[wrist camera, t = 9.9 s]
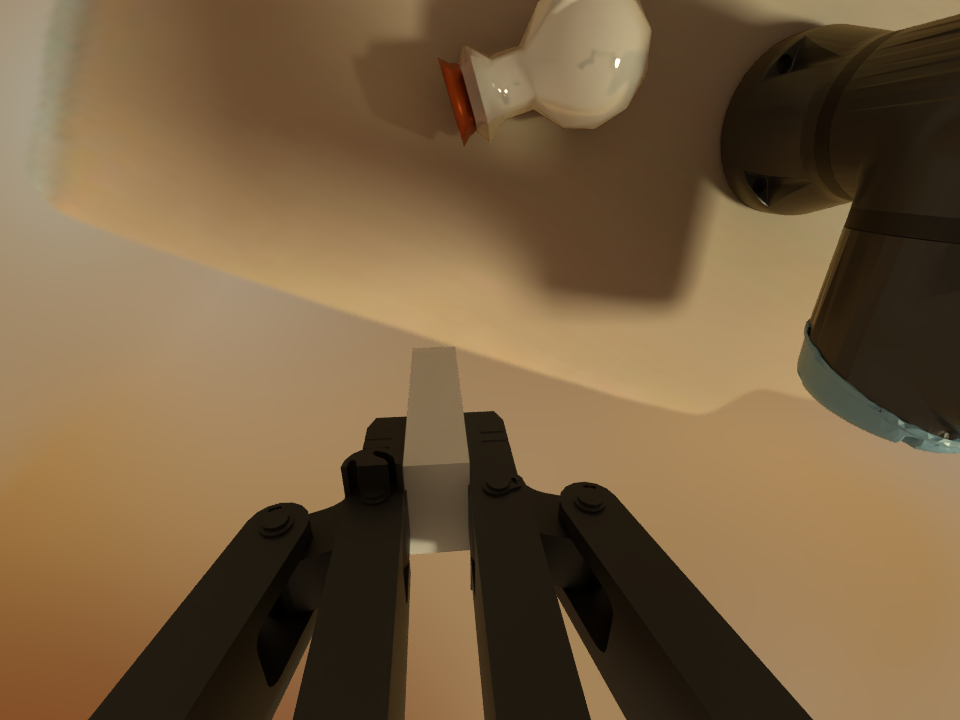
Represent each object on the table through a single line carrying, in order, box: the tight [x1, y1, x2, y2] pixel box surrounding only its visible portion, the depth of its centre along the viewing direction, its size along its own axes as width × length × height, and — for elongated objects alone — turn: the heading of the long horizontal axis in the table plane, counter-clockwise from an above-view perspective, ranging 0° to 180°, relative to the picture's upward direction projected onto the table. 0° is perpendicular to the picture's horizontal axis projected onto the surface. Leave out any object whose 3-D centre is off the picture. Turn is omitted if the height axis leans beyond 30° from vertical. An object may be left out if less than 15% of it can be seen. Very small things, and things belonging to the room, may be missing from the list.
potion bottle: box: [438, 0, 652, 146], centre depth 34 cm, size 9×10×15 cm
